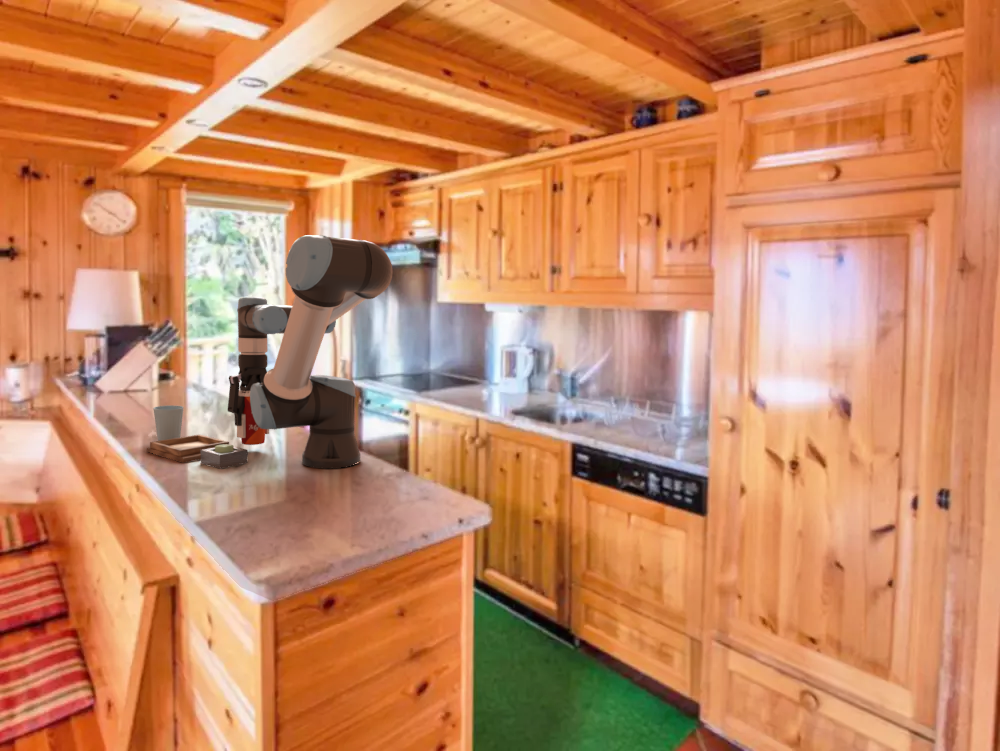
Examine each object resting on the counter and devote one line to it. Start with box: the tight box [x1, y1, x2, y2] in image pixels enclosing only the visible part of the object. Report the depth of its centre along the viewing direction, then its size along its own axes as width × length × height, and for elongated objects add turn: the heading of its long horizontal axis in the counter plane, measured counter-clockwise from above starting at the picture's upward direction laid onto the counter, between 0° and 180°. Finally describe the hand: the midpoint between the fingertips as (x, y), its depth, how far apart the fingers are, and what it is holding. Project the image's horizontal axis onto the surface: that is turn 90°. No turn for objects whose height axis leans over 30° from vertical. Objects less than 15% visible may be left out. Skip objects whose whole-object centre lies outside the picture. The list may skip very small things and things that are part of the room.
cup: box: [152, 405, 184, 441], centre depth 183 cm, size 8×8×10 cm
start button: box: [215, 443, 234, 453], centre depth 164 cm, size 4×4×4 cm
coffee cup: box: [239, 389, 266, 446], centre depth 177 cm, size 8×8×15 cm
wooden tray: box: [146, 433, 230, 464], centre depth 174 cm, size 17×15×3 cm
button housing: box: [200, 445, 249, 470], centre depth 164 cm, size 8×8×4 cm
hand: (253, 435), depth 178 cm, fingers closed on coffee cup, 7 cm apart
